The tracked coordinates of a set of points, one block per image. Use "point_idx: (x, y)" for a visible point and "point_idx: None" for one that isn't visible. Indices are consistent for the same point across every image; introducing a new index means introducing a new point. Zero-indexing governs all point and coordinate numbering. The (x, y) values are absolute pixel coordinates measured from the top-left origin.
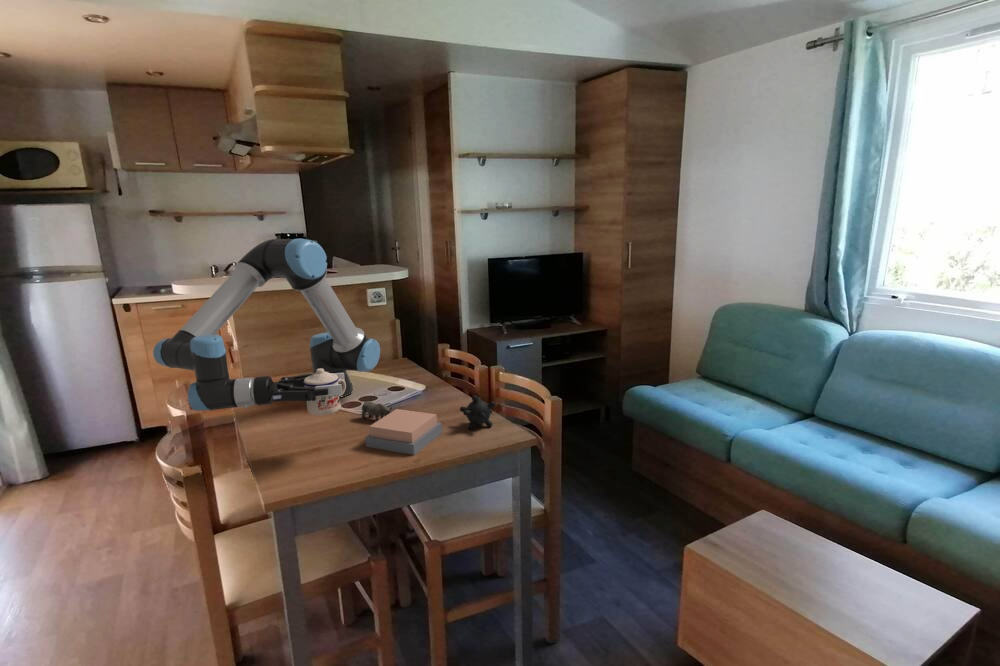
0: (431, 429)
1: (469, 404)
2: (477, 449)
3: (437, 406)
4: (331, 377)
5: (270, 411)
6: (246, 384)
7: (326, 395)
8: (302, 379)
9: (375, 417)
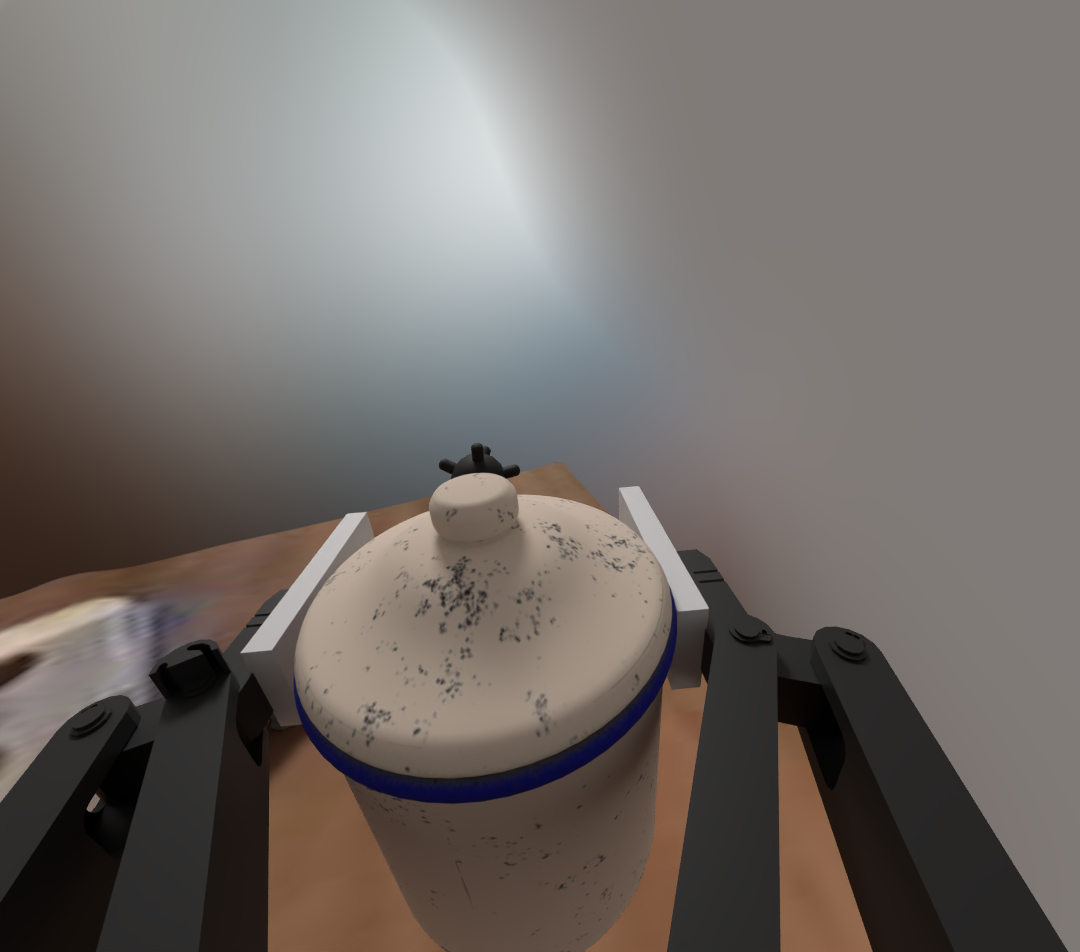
0: None
1: (472, 469)
2: (598, 508)
3: None
4: (544, 501)
5: None
6: None
7: None
8: (210, 900)
9: (273, 715)
